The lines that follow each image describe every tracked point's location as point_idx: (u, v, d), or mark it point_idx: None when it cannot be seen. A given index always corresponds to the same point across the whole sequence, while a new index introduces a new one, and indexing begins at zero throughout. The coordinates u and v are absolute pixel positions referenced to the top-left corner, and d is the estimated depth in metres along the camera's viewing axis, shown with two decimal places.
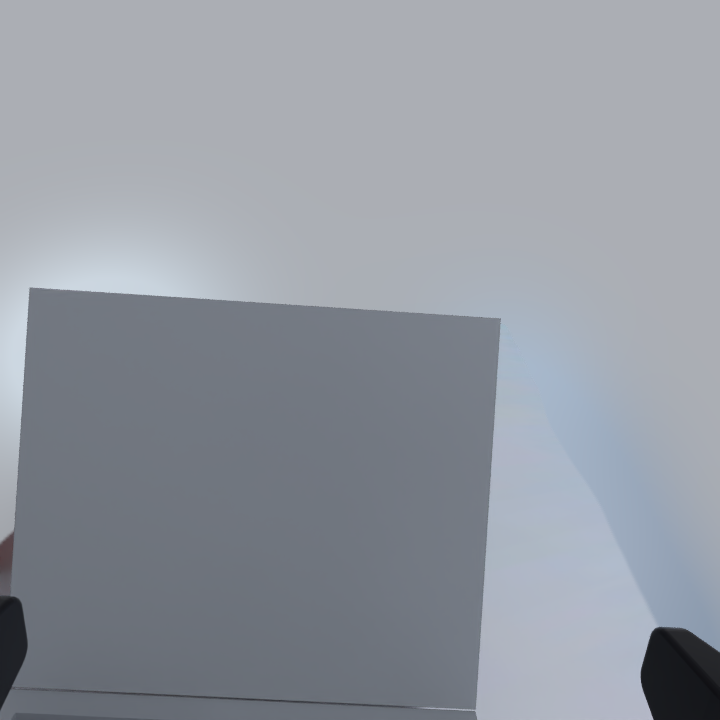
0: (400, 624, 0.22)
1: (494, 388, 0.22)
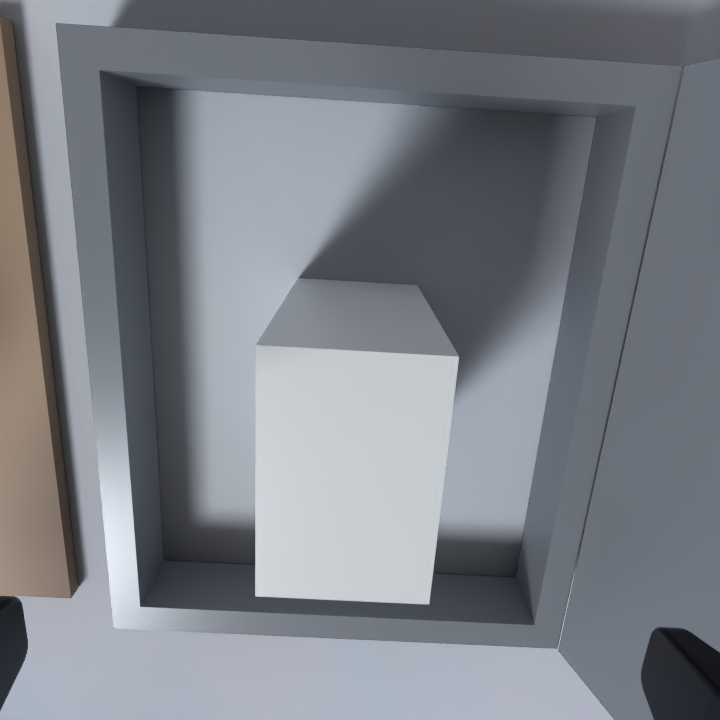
0: None
1: None
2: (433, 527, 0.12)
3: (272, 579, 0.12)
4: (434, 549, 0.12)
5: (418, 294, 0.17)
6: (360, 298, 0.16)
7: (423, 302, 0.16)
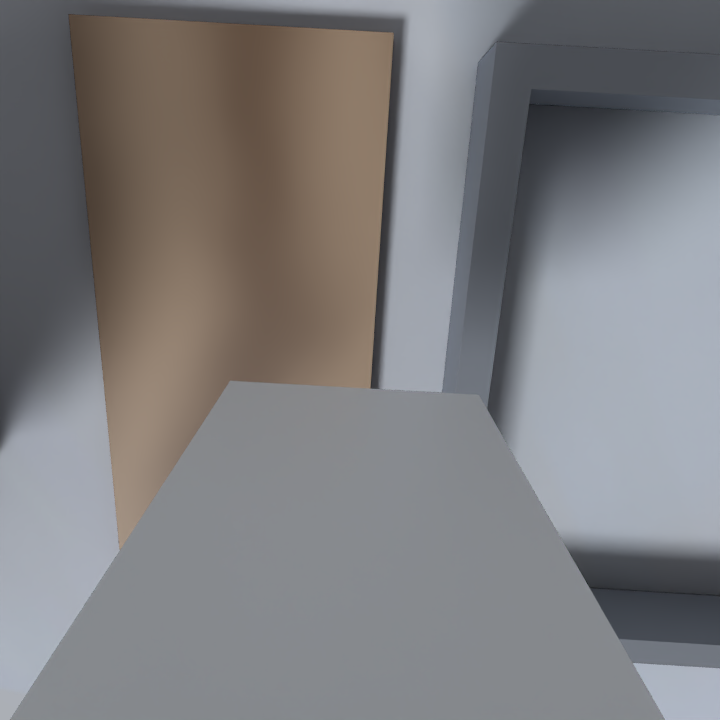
0: None
1: None
2: None
3: None
4: None
5: (495, 440, 0.07)
6: (360, 477, 0.06)
7: (521, 487, 0.06)
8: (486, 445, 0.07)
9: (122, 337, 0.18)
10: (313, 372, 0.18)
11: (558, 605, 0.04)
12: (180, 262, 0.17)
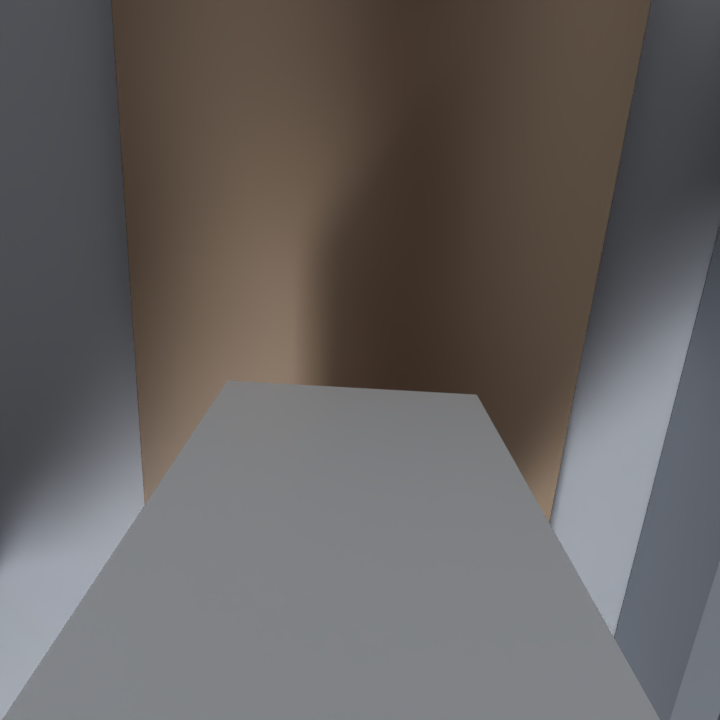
0: None
1: None
2: None
3: None
4: None
5: (492, 440, 0.07)
6: (356, 477, 0.06)
7: (518, 487, 0.06)
8: (484, 445, 0.07)
9: (176, 437, 0.12)
10: None
11: (555, 606, 0.04)
12: (274, 325, 0.11)
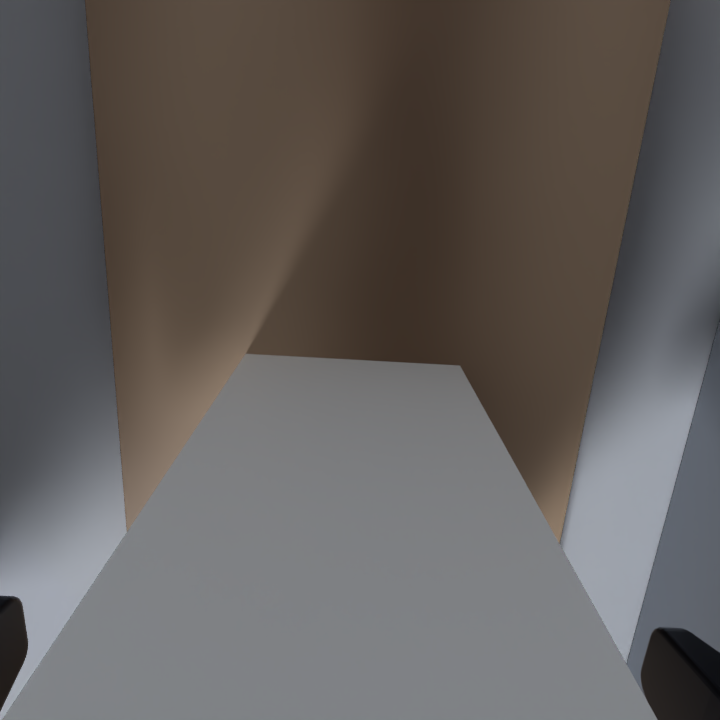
0: None
1: None
2: None
3: None
4: None
5: (469, 398, 0.09)
6: (356, 422, 0.08)
7: (487, 430, 0.08)
8: (462, 401, 0.09)
9: (159, 456, 0.11)
10: None
11: (505, 502, 0.06)
12: (264, 337, 0.10)
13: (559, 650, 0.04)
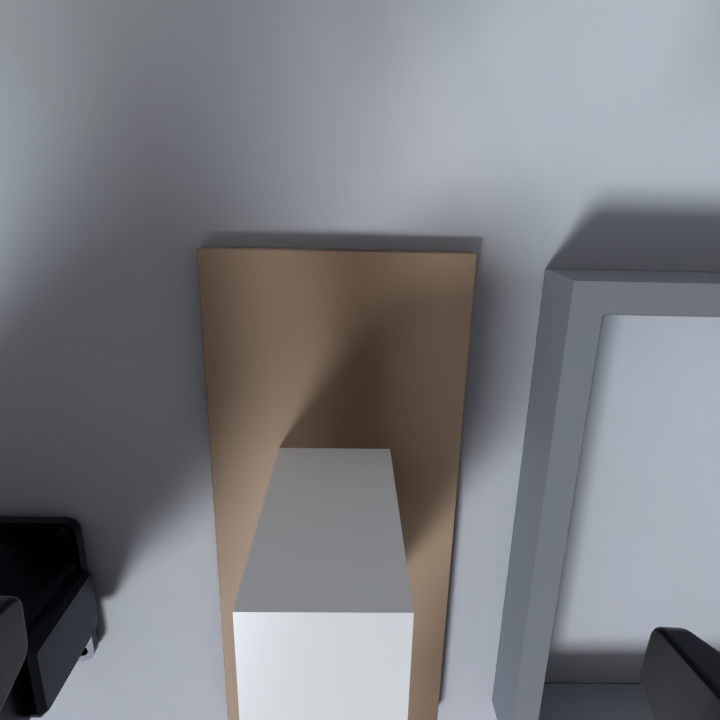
0: None
1: None
2: None
3: None
4: None
5: (389, 472, 0.18)
6: (334, 489, 0.17)
7: (392, 490, 0.17)
8: (384, 474, 0.18)
9: (234, 501, 0.20)
10: (403, 522, 0.21)
11: (388, 524, 0.15)
12: (288, 439, 0.20)
13: (389, 570, 0.13)
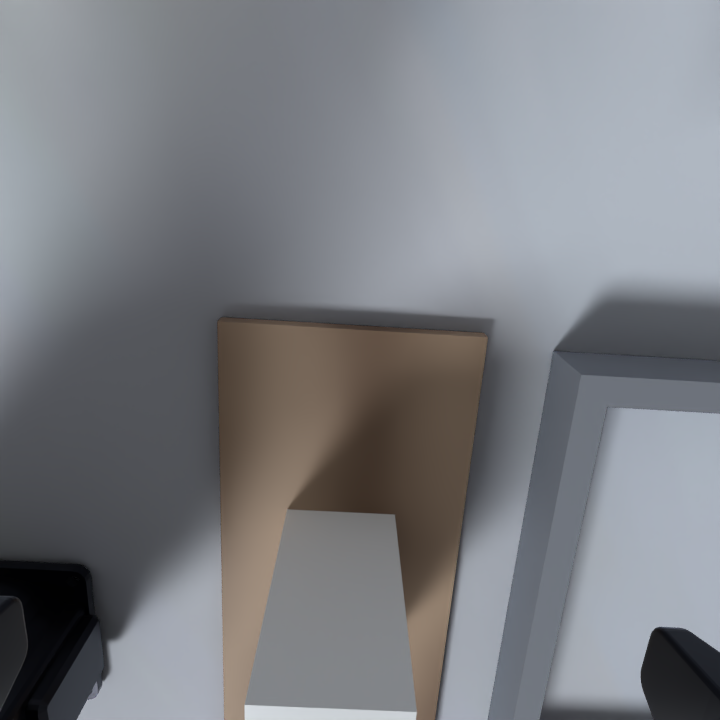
0: None
1: None
2: None
3: None
4: None
5: (393, 542, 0.19)
6: (340, 561, 0.18)
7: (396, 565, 0.18)
8: (389, 545, 0.19)
9: (241, 557, 0.21)
10: (404, 583, 0.21)
11: (393, 606, 0.16)
12: (296, 501, 0.20)
13: (393, 661, 0.14)
